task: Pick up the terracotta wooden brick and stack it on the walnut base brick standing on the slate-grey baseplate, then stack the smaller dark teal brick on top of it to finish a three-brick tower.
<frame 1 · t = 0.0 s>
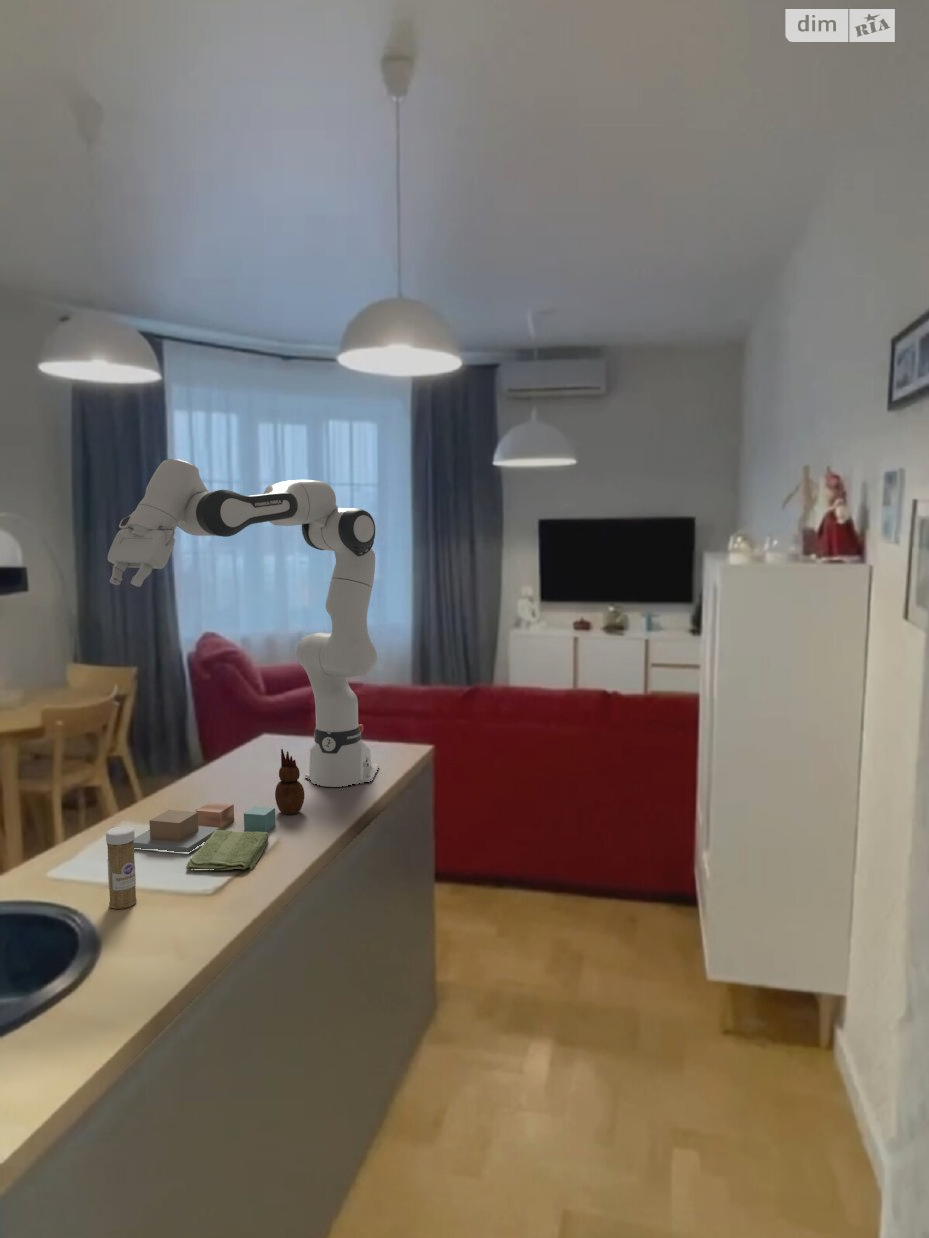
hand: (124, 584, 173), 54 cm above the counter, tool tilted 30°, fingers open, 8 cm apart
washcloth: (231, 858, 167), on the counter
baseplate: (174, 841, 175), on the counter
sprinkles bottle: (123, 905, 145), on the counter
wooden figurine: (290, 813, 194), on the counter
brick a: (215, 824, 186), on the counter
brick b: (260, 828, 184), on the counter
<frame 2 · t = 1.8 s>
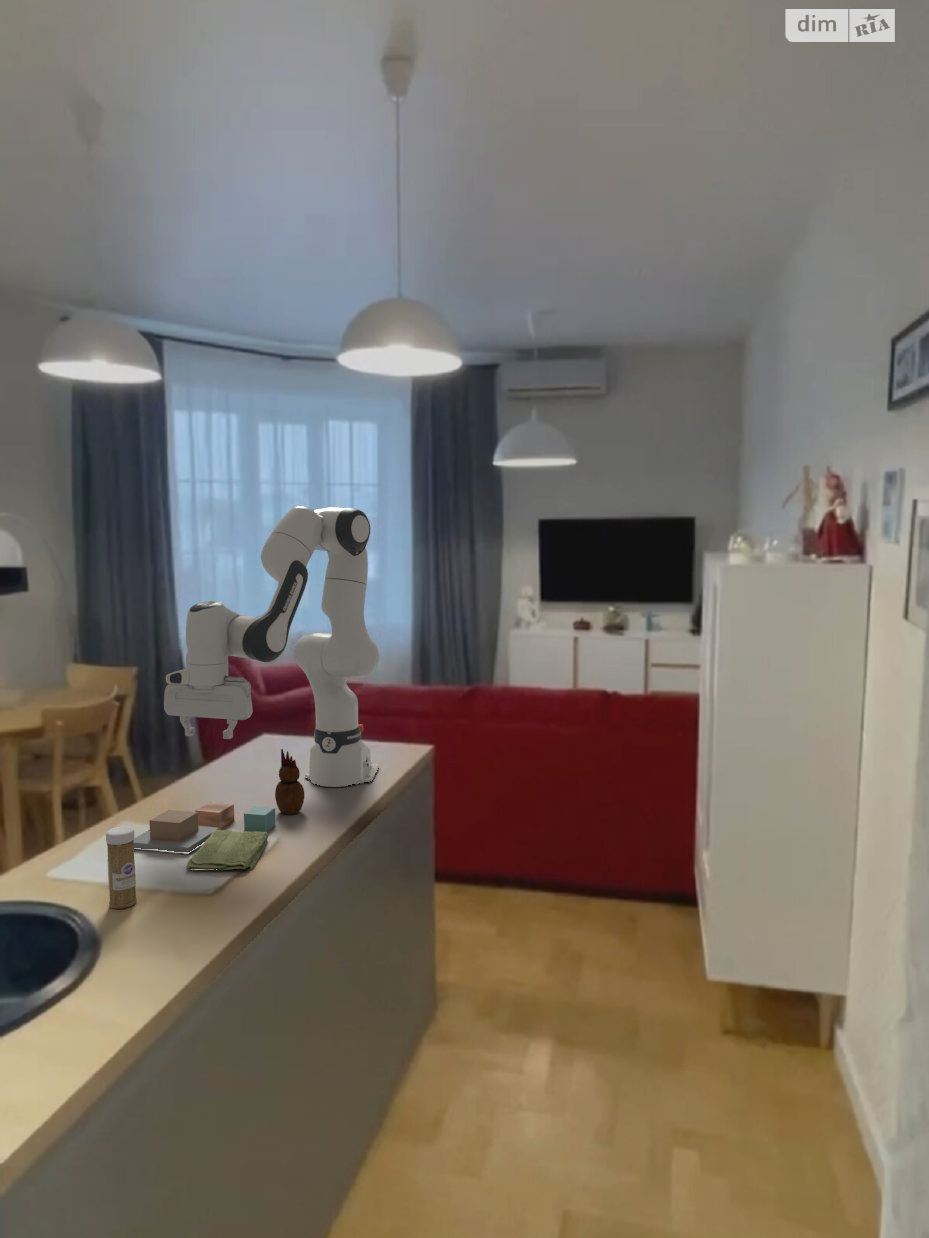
hand: (208, 737, 184), 20 cm above the counter, tool pointing down, fingers open, 8 cm apart
nothing on the counter moved.
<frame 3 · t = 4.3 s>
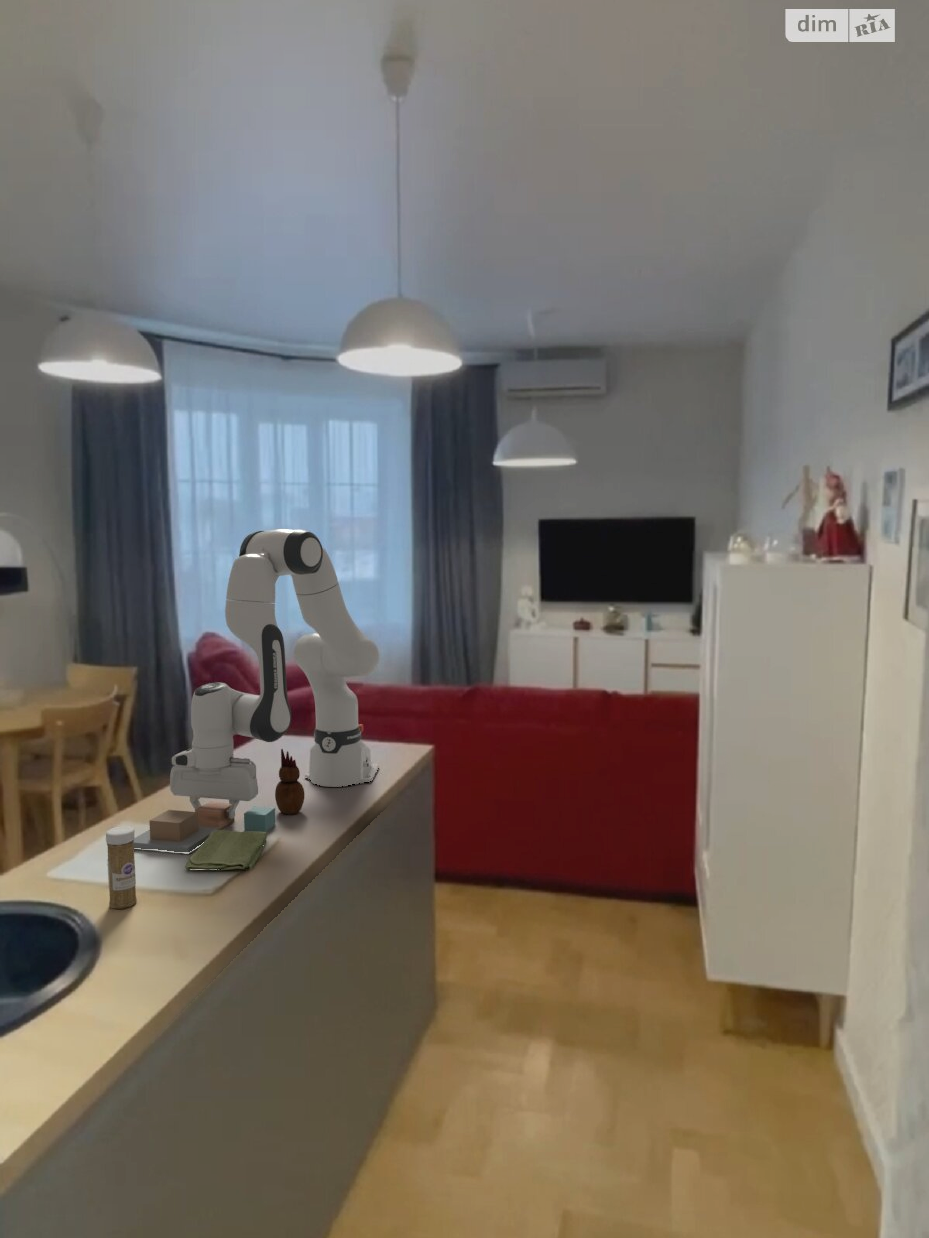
hand: (215, 816, 186), 2 cm above the counter, tool pointing down, fingers closed on brick a, 6 cm apart
brick a: (215, 823, 186), on the counter, touching gripper
everything else where it was.
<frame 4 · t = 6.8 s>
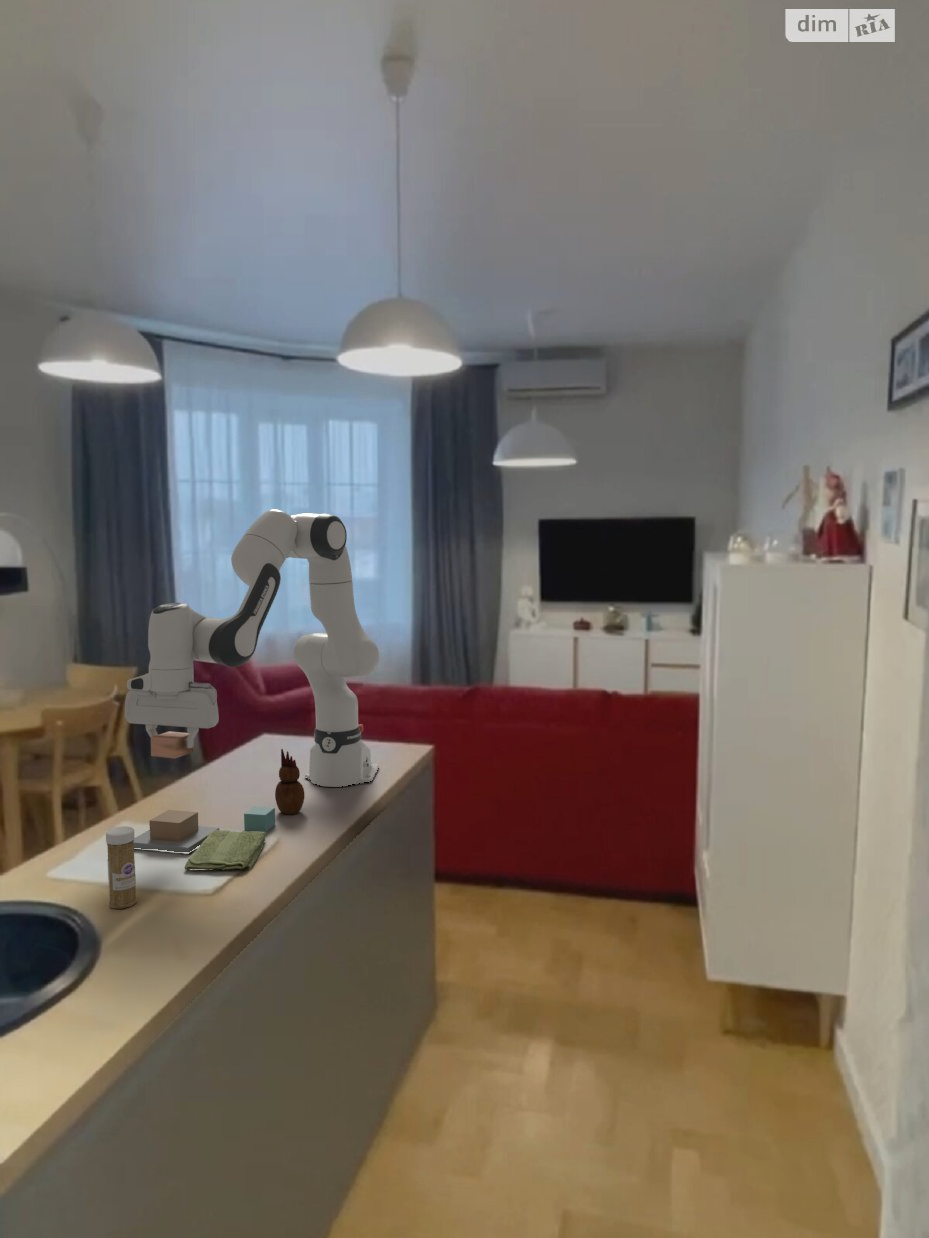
hand: (172, 746, 174), 20 cm above the counter, tool pointing down, fingers closed on brick a, 6 cm apart
brick a: (172, 753, 174), point 19 cm above the counter, touching gripper
everything else where it was.
when the fingers open (8 cm above the counter, at t = 9.5 s): brick a stays where it is, resting on baseplate.
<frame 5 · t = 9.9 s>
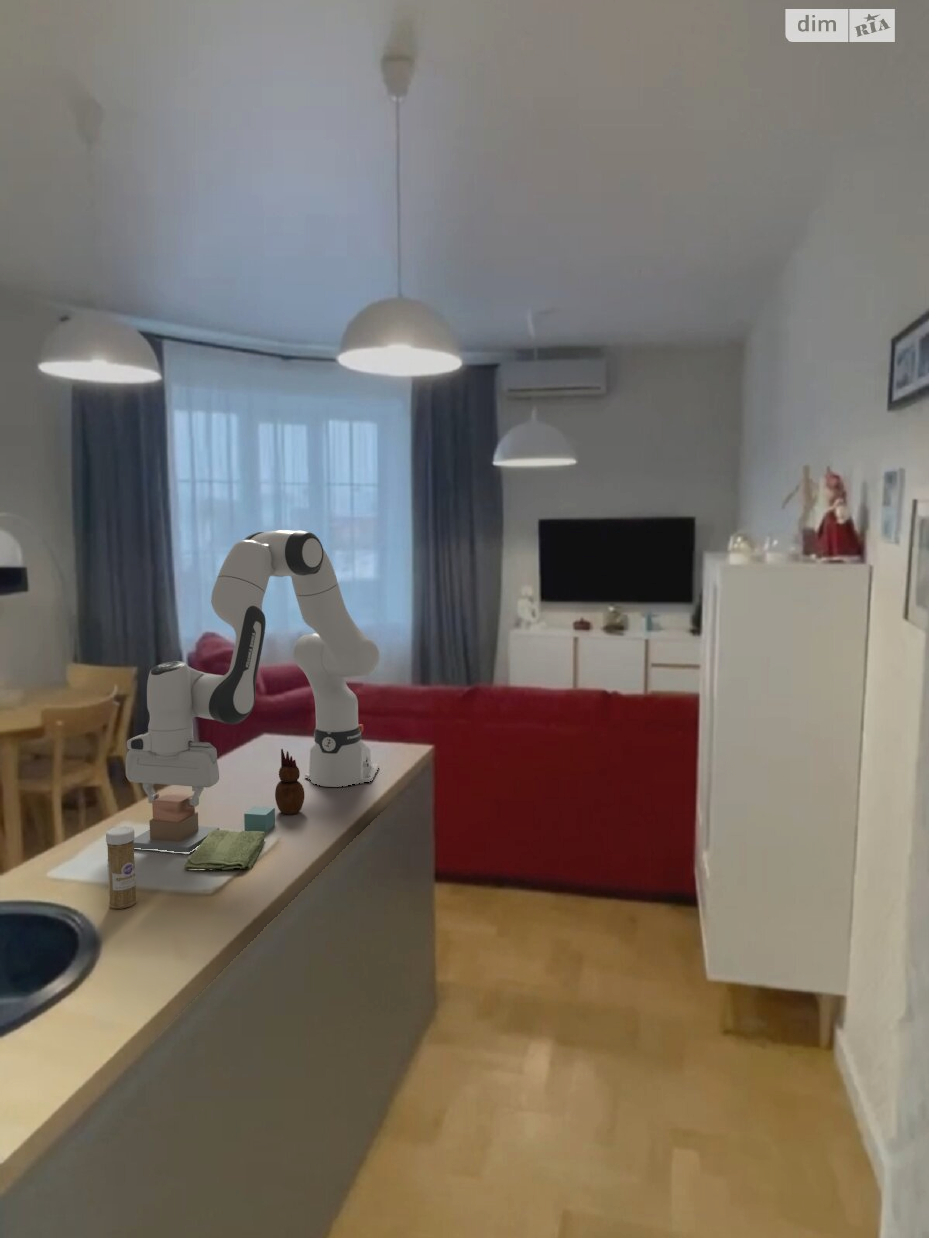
hand: (173, 804, 174), 8 cm above the counter, tool pointing down, fingers open, 8 cm apart
brick a: (174, 816, 175), point 5 cm above the counter, touching baseplate
everything else where it was.
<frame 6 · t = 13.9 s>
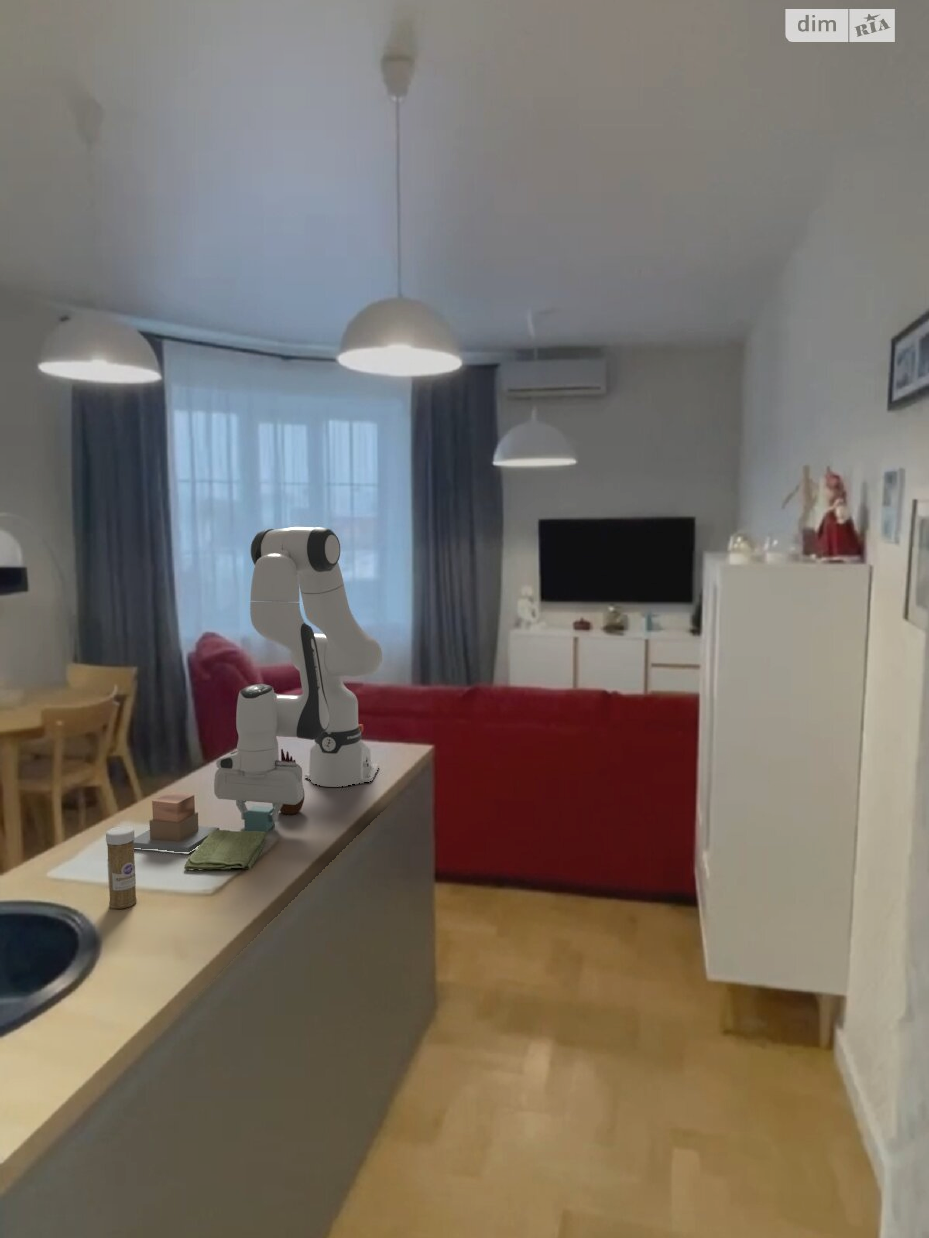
hand: (259, 820, 183), 2 cm above the counter, tool pointing down, fingers closed on brick b, 5 cm apart
brick b: (259, 827, 183), on the counter, touching gripper
everything else where it was.
when the fingers open (12 cm above the counter, at t = 18.7 s): brick b stays where it is, resting on brick a.
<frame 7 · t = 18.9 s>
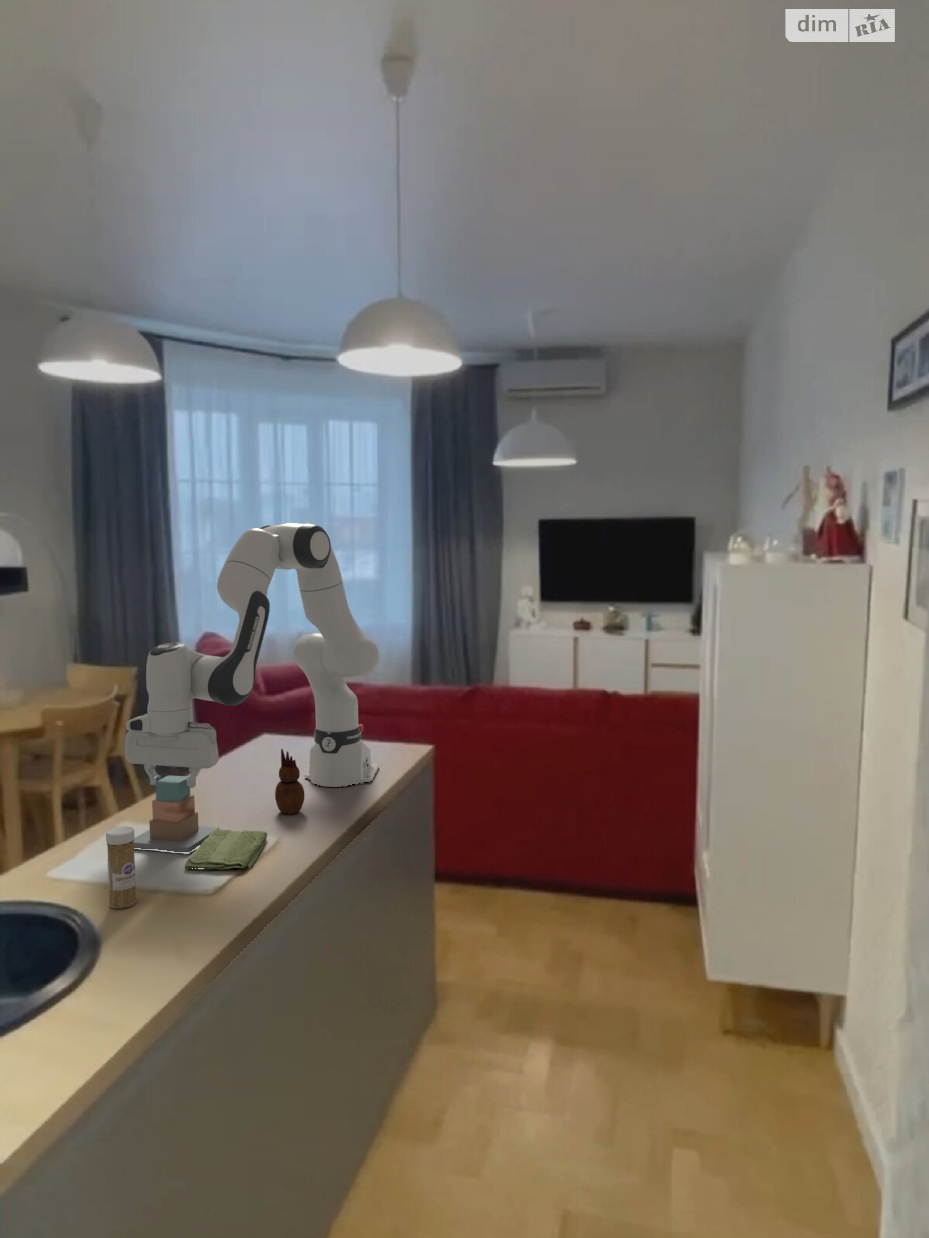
hand: (173, 785, 174), 12 cm above the counter, tool pointing down, fingers open, 7 cm apart
brick a: (174, 816, 175), point 5 cm above the counter, touching baseplate, brick b
brick b: (173, 797, 174), point 9 cm above the counter, touching brick a
everything else where it was.
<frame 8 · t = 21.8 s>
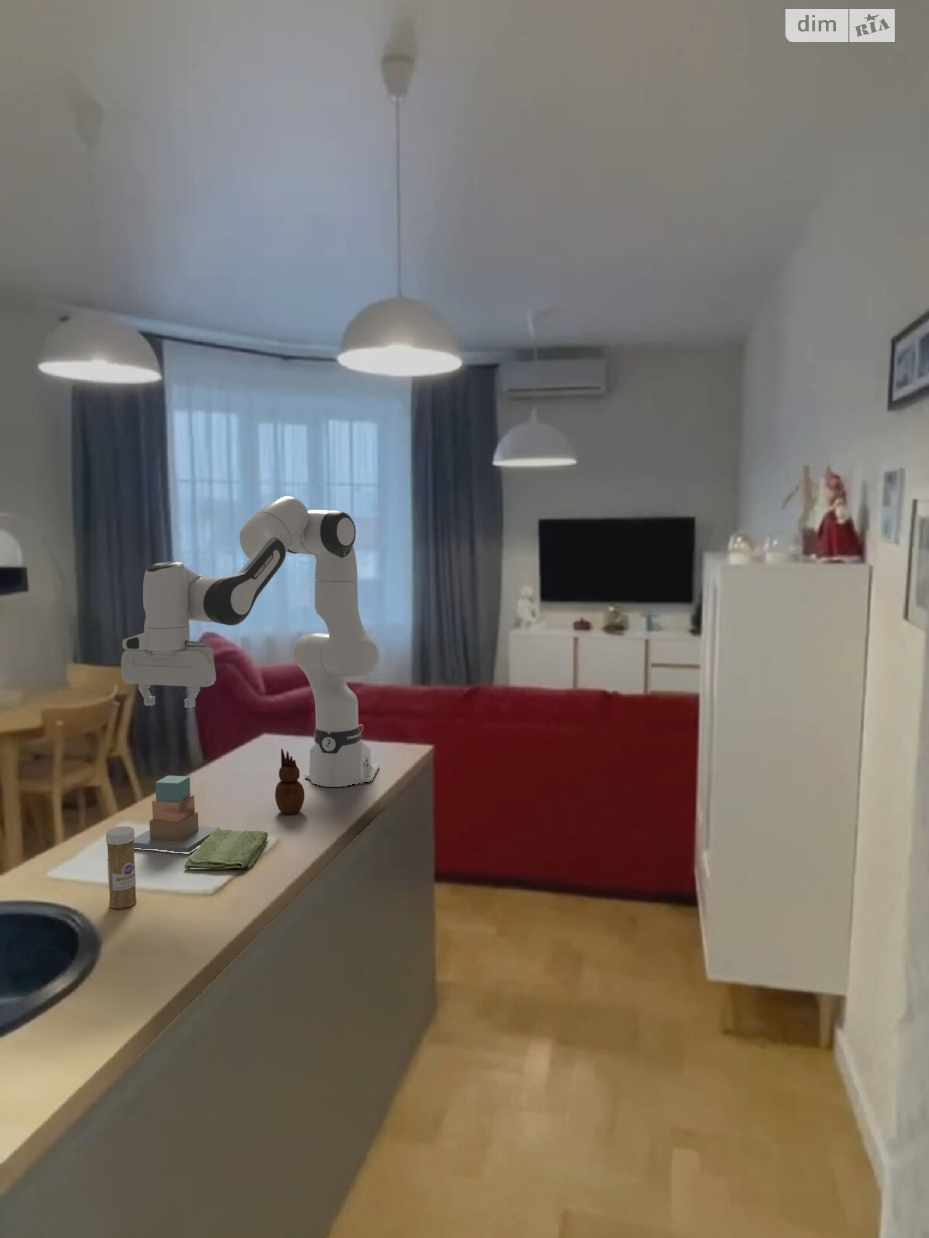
hand: (169, 706, 172), 29 cm above the counter, tool pointing down, fingers open, 8 cm apart
nothing on the counter moved.
at the end: brick a 0.0 cm off-centre on the baseplate, point 5.5 cm above the baseplate's base; brick b 0.1 cm off-centre on the baseplate, point 9.5 cm above the baseplate's base; brick b tilted 0° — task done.
